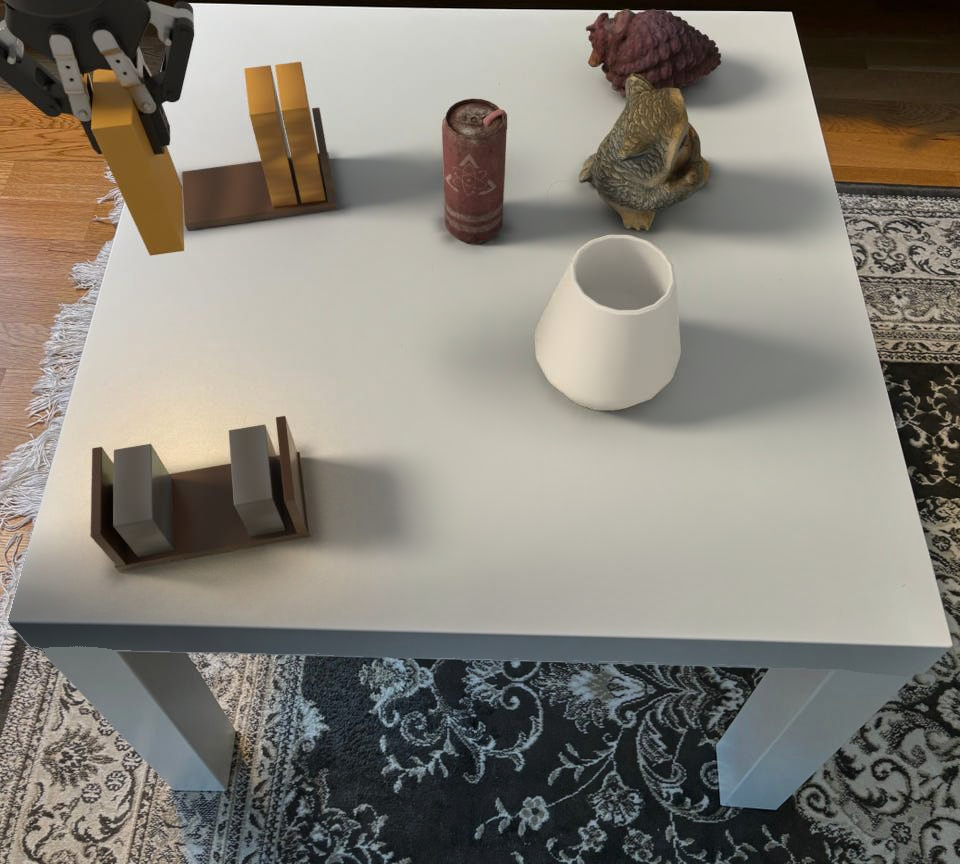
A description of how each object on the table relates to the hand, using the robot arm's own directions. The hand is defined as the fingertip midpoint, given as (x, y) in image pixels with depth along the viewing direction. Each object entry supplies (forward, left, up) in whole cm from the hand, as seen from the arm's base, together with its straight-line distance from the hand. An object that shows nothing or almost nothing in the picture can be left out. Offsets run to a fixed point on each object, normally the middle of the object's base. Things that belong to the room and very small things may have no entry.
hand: (136, 148), depth 63 cm
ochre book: (0, 0, -7) cm, 7 cm away
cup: (+35, -9, -26) cm, 45 cm away
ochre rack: (+5, +21, -25) cm, 34 cm away
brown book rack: (-2, -16, -25) cm, 30 cm away
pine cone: (+52, +30, -26) cm, 66 cm away
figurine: (+46, +12, -26) cm, 54 cm away
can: (+27, +12, -26) cm, 40 cm away
